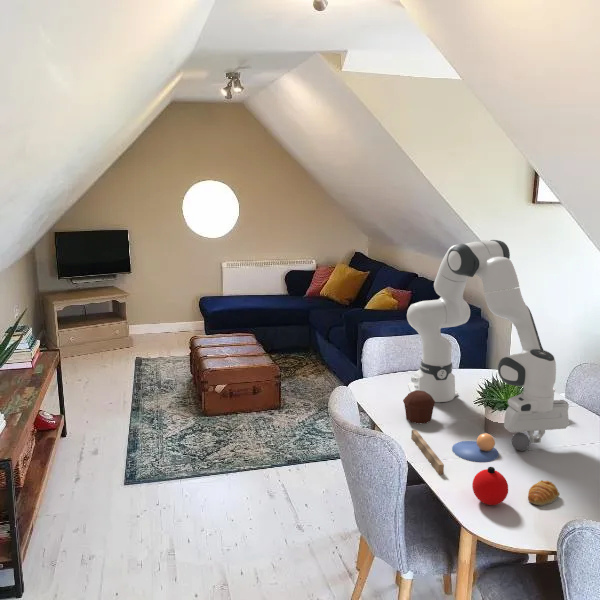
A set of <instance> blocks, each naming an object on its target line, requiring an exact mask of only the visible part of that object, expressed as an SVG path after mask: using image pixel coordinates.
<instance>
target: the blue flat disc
mask: <svg viewBox="0 0 600 600" xmlns="http://www.w3.org/2000/svg"><path fill="white" fill-rule="evenodd" d="M451 448H452V452H453V454H454V453H455V454H454V455H455V456H457V457H458V456H459V458H460V457H461V459H463V460H465V459H466V461H470V462H474V461H475V463H488V462H492V461H495V460H496V459H497V458H498V457H499V451H498V450H497V448H496V447H494V448H493V449H492V450H490V451H483V450H481V449H480V448H479V447H478V445H477V440H463V441H458V442H456V443H455V444H453V445H452V447H451Z"/></svg>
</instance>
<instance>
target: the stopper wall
mask: <svg viewBox="0 0 600 600" xmlns="http://www.w3.org/2000/svg"><path fill="white" fill-rule="evenodd" d="M410 437H411V440H412V441H413V442H415V443H414V444H415V445H416V447H417V446H418V447H417V448H418V450H421V451H420V452H421V453H422V455H423V456H424V457H425V459H426V460H427V459H428V460H427V461H428V462H429V464H430V463H431V464H430V466H432V468H433V469H434V470H435V472H436V474H438V475H444V467H445V464H444V463H443V462H442V460H441V459H440V458H439V456H438V455H437V454H436V453H435V451H433V449H432V447H430V445H429V444H428V443H427V442H426V440H425V439H424V438H423V436H422V435H421V433H420V432H419V431H418V430H417V429H411V435H410Z"/></svg>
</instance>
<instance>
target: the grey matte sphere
mask: <svg viewBox="0 0 600 600" xmlns="http://www.w3.org/2000/svg"><path fill="white" fill-rule="evenodd" d="M527 435H528V434H527ZM527 435H526V433H522V432H515V433H514V434H513V435H512V437H511V439H510V442H511V446H512V447H513V448H514V449H515V450H517V451H522V452H523V451H525V450H527V449H528V448H529V447H530V444H531V442H530V440H529V438H530V437H529V435H528V436H527Z"/></svg>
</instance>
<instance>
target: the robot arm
mask: <svg viewBox="0 0 600 600" xmlns="http://www.w3.org/2000/svg"><path fill="white" fill-rule="evenodd" d="M510 253H511V252H510V249H509V246H508V245H507V244H506V243H505V242H504V241H502V240H497V239H490V240H487V239H486V240H476V241H472V242H466V243H458V244H454V245H452V246H450V247H449V248H448V250H447V252H445V255H444V257H443V258H442V260H441V263H440V265H439V268H438V270H437V274H436V276H435V280H434V281H433V288H434V291H435V293H436V294H437V296H439V298H438V299H432V300H431V299H430V300H422V301H421V300H420V301H418V302H415V303H411V304H410V306H409V307H408V309H407V313H406V320H407V322H408V325H410V326H411V328H413V329H414V330H415V331H416V332H417V333H418V335H419V336H420V339H421V345H422V346H421V347H422V353H421V354H422V355H421V356H422V359H421V361H420V364H419V366H420V367H419V369H418V370H417V371H415V372H414V374H413V376H411V380H410V381H411V382H410V381H409V382H408V383H407V386H408V391H409V393H411V392H413V391H418V390H419V391H425V392H426V393H428V394H430V395H431V396H432V398H433V399H434V401H435V403H445V402H450V401H452V400H454V398H455V397H458V396H459V392H458V391H456V377H455V375H454V373H452V371H453V361H452V356H453V355H452V352H453V345H452V342H451V341H450V340H449V339H448V338H446V337H445V336H442V332H441V329H443V328H452V327H458V326H461V325H464V324H466V323H467V322H468V321H469V319H470V317H471V309H470V305H469V303H467V301H466V300H465V299H464V293H465V289H466V286H467V283H468V281H469V278H473V277H475V275H476V276H478V277H479V279H481V281H482V286H483V287H482V288H483V291H484V292H483V293H484V299H485V303H486V306H487V308H488V310H489V311H490V312H491V313H492V314H493V315H494V316H496V317H498V318H500V319H503V320H506V321H508V322H510V323H512V324H513V326H514V327H515V329H516V332H517V335H518V338H519V339H518V340H519V342H520V346H521V350H522V351H521V352H520V353H514V354H510V355H507V356H504V357H502V358H501V359H500V360H499V362H498V364H497V371H498V372H497V373H498V376H499V377H500V379H501V380H502V381H503V382H504V383H505V384H506V385H510V386H516V387H522V388H523V392H521V393H519V394H517V395H515V396H512V397H509V398H508V400H507V404H508V405H509V406H507V408H506V410H505V414H504V420H503V427H504V428H505V429H506V430H507V431H508V432H510V433H522V432H526V433H527V435H528V438H529V440H530V444H540V443H541V441H542V438H543V436H544V435H545V433H546V431H549V430H550V431H551V430H563V429H564V430H565V429H567V428H568V427H569V423H570V421H569V407H570V406H569V405H570V403H568V401H566V400H565V399H559V400H558V399H555V392H554V389H553V387H554V388H555V383H556V379H557V363H556V358H555V356H554V355H553V354H552V353H551V352H549V351H547V350H545V349H544V348H543V346H542V342H541V339H540V336H539V333H538V329H537V326H536V323H535V320H534V318H533V315H532V311H531V310H530V308H529V307H528V305H527V304H526V302H525V301H524V298H523V296H522V292H521V288H520V283H519V279H518V275H517V272H516V269H515V267H514V264H513V262H512V261H511V260H510V258H511V256H510V255H511V254H510ZM535 432H537V433H536V435H534V434H535Z"/></svg>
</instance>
